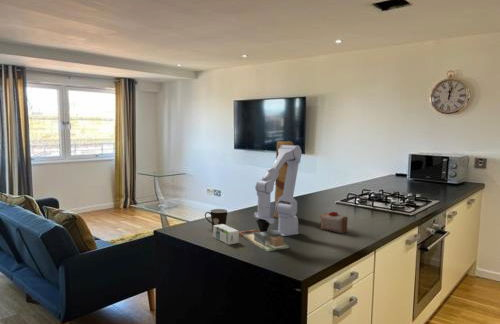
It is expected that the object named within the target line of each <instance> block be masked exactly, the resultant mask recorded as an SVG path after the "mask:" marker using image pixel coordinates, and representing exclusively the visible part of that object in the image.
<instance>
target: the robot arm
mask: <svg viewBox="0 0 500 324" xmlns="http://www.w3.org/2000/svg"><path fill="white" fill-rule="evenodd" d="M302 152H303V151H302V148H301V147H300V145H298V144H297V145H281V146H280V148H279V150H278V157H277V159H276V158H275V161H274V163H273V164H272V167H271V166H270V167H268V169H267V171H266V172H265V173H264V175H263V177H262V178H261V179H260V180H258V181H257V182H256V184H255V185H254V186H255V191H256V195H257V212H253V217H254V218H255V219H256V220H255V221H256V224H257V226H258V228H259V229H258V230H259V231H260V232H265V231H268V230H269V229H268V228H269V227H270V226H271V225H272V224H275V218H273V217H272V216H271V195H272V192H274V191H273V190H274V187H275V182H276V179H277V177H278V176H279V170H280V168H281V167H282V165H283V164H284V163H285V162H287V164H288V167H287V173H286V179H285V185H284V190H283V195H282V196H281V197H280V198H278V201H277V204H276V206H275V205H274V207H275V210H276V213H278V215H279V218H278V227H277V231H279V232H281V237H282V236H283V237H285V236H294V235H299V234H300V233H299V218H298V216H297V213H298V201H297V199H295V198H294V192H295V186H296V180H297V176H298V172H299V171H298V170H299V164H300V163H301V158H302ZM286 202H290V203H286Z"/></svg>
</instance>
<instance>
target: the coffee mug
mask: <svg viewBox="0 0 500 324" xmlns="http://www.w3.org/2000/svg"><path fill="white" fill-rule="evenodd" d="M228 211H229V210H227V209H226V208H225V209H224V208H215V209H211V210H210V211H207V212H205V213H204V218H205V219H206V220H207V221H208V222H209V223H210V224H211V226H212V230H213V225H218V224H224V225H227V220H228ZM207 214H209V215H210V218H211V220H210V219H208V217H207Z"/></svg>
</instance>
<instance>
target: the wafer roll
mask: <svg viewBox="0 0 500 324" xmlns="http://www.w3.org/2000/svg"><path fill="white" fill-rule="evenodd" d="M281 145H293V146H295V145H294V142H293V141H290V140H286V141H283V140H278V141H277V142H276V151H275V152H276V156H275V160H276V159H277V157H278V150H279V148H280V146H281ZM287 167H288V164H287V162H285V163H284V164H283V165H282V167H281V168H280V170H279V176H278V177H277V179H276V181H275V182H274V187H275V191H274V209H273V211H274V213H273V214H274V216H273V217H274V218H277V219H279V215H278V213H276V210H275V206H276V204H277V201H278V198H280V197H281V196H282V195H283V190H284V185H285V179H286V173H287ZM286 203H290V202H286Z"/></svg>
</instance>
